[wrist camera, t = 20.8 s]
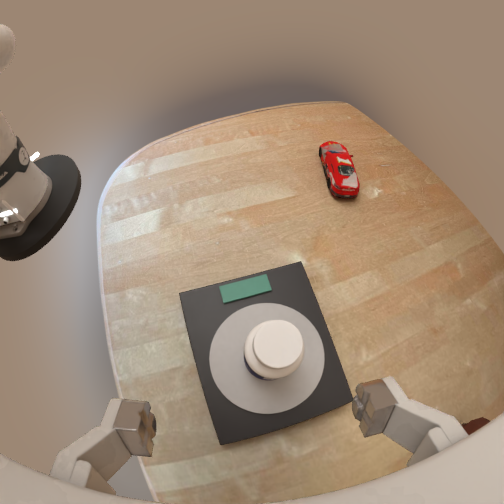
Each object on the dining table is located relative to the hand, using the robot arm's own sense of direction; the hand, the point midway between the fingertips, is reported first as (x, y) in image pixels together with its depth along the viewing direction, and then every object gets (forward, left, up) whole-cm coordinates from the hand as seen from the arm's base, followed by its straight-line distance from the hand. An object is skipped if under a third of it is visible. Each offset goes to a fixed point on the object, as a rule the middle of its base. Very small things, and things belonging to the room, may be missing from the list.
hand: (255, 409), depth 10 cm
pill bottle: (+4, +4, -21) cm, 21 cm away
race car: (+26, +30, -24) cm, 46 cm away
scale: (+4, +5, -24) cm, 25 cm away
